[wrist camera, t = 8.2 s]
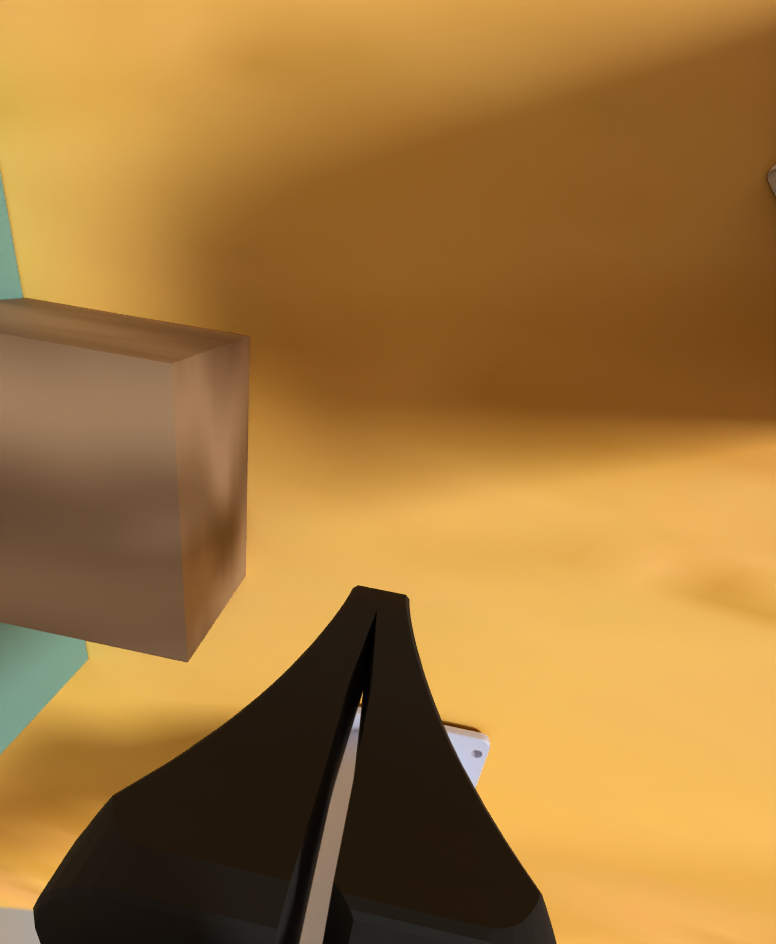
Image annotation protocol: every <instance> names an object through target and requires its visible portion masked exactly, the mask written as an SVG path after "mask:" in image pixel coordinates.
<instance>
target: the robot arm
mask: <svg viewBox="0 0 776 944" xmlns="http://www.w3.org/2000/svg"><path fill="white" fill-rule="evenodd" d="M362 693H363V697H362V706H361V707H358V706H359V703H360V700H361V696H362ZM489 749H490V740H489V738H488V736H486V735H485V734H483V733H480V732H475V731H471V730H466V729H461V728H456V727H452V726H447V725H443V722H442V720H441V718H440V715H439V713H438V710H437V708H436V705H435V703H434V700H433V697H432V695H431V692H430V689H429V686H428V683H427V680H426V677H425V674H424V671H423V668H422V664H421V661H420V657H419V653H418V650H417V646H416V642H415V638H414V633H413V628H412V623H411V617H410V607H409V598H408V597H407V596H406V595H404V594H399V593H394V592H389V591H384V590H379V589H374V588H369V587H364V586H356V587H354V588H353V589H352V591H351V593H350V595H349V596H348V598H347V600H346V601H345V603H344V604H343V606H342V607H341V608H340V610H339V611H338V613H337V614H336V615H335V617H334V618H333V619H332V621H331V622H330V623H329V624H328V626H327V627H326V628H325V629H324V630H323V632H322V633H321V634H320V635H319V636H318V638H317V639H316V640H315V641H314V642H313V643H312V645H311V646H310V647H309V648H308V649H307V650H306V651H305V652H304V653H303V654H302V655H301V656H300V657H299V658H298V660H297V661H296V662H295V663H294V664H293V665H292V666H291V667H290V668H289V669H288V670H287V671H286V672H285V673H284V674H283V675H282V676H281V677H280V678H278V679H277V680H276V681H275V682H274V683H273V684H272V685H271V686H270V687H269V688H267V689H266V690H265V691H264V692H263V693H262V694H261V695H260V696H258V697H257V698H256V699H255V700H254V701H252V702H251V703H250V704H249V705H247V706H246V707H245V708H244V709H243V710H241V711H240V712H239V713H238V714H236V715H235V716H234V717H233V718H231V719H230V720H229V721H227V722H226V723H225V724H223V725H222V726H221V727H219V728H218V729H217V730H215V731H214V732H212V733H211V734H209V735H208V736H206V737H205V738H204V739H202V740H201V741H199V742H198V743H196V744H195V745H194V746H192V747H191V748H189V749H188V750H186V751H185V752H183V753H182V754H181V755H179V756H177V757H176V758H174V759H173V760H171V761H170V762H168V763H166V764H165V765H163V766H161V767H160V768H158V769H156V770H155V771H153V772H151V773H150V774H148V775H146V776H145V777H143V778H141V779H140V780H138V781H136V782H135V783H133V784H131V785H130V786H128V787H126V788H125V789H123V790H121V791H119V792H118V793H116V794H114V795H113V796H112V797H111V798H110V799H109V801H108V802H107V803H106V804H105V805H104V806H103V808H102V809H101V810H100V811H99V812H98V814H97V815H96V816H95V817H94V819H93V820H92V821H91V822H90V824H89V825H88V826H87V828H86V829H85V830H84V831H83V833H82V834H81V835H80V836H79V837H78V839H77V840H76V841H75V843H74V844H73V846H72V847H71V849H70V850H69V852H68V853H67V855H66V856H65V858H64V859H63V861H62V862H61V864H60V865H59V867H58V868H57V870H56V872H55V873H54V875H53V876H52V878H51V879H50V881H49V882H48V884H47V885H46V887H45V889H44V890H43V892H42V893H41V895H40V896H39V898H38V900H37V902H36V904H35V906H34V907H33V911H34V921H35V929H36V932H37V935H38V937H39V940H40V943H41V944H557V943H556V940H555V936H554V932H553V928H552V925H551V921H550V918H549V915H548V912H547V908H546V905H545V902H544V899H543V896H542V894H541V892H540V891H539V889H538V888H537V886H536V885H535V884H534V882H533V881H532V879H531V878H530V876H529V875H528V873H527V872H526V870H525V869H524V868H523V866H522V865H521V863H520V862H519V860H518V859H517V857H516V855H515V854H514V852H513V851H512V849H511V848H510V846H509V845H508V843H507V842H506V840H505V839H504V837H503V835H502V834H501V832H500V830H499V829H498V827H497V825H496V824H495V822H494V821H493V819H492V817H491V816H490V814H489V812H488V811H487V809H486V807H485V806H484V804H483V802H482V800H481V798H480V796H479V795H478V793H477V791H476V789H475V788H476V785H477V782H478V779H479V777H480V774H481V771H482V768H483V766H484V763H485V760H486V757H487V755H488V752H489Z"/></svg>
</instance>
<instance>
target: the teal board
mask: <svg viewBox="0 0 776 944" xmlns="http://www.w3.org/2000/svg"><path fill="white" fill-rule="evenodd" d="M15 298H23V295H22V289H21V284H20V278H19V273H18V267H17V262H16V256H15V251H14V245H13V240H12V234H11V228H10V223H9V217H8V212H7V206H6V201H5V195H4V190H3V184H2V179H1V173H0V300H2V299H15ZM87 660H88V655H87V649H86V644H85V640H80V639H76V638H71V637H66V636H62V635H57V634H52V633H48V632H43V631H38V630H33V629H29V628H24V627H19V626H15V625H10V624H5V623H1V622H0V754H1V753H2V752H3V751H4V750H5V749H6V748H7V747H8V746H9V745H10V743H11V742H12V741H13V740H14V739H15V738H16V737H17V736H18V735H19V734H20V733H21V732H22V730H23V729H24V728H25V727H26V726H27V725H28V724H29V723H30V722H31V721H32V720H33V719H34V717H35V716H36V715H37V714H38V713H39V712H40V711H41V710H42V709H43V708H44V707H45V706H46V704H47V703H48V702H49V701H50V700H51V699H52V698H53V697H54V696H55V695H56V694H57V693H58V691H59V690H60V689H61V688H62V687H63V686H64V685H65V684H66V683H67V682H68V681H69V680H70V678H71V677H72V676H73V675H74V674H75V673H76V672H77V671H78V670H79V669H80V668H81V667H82V665H83V664H84V663H85V662H86V661H87Z"/></svg>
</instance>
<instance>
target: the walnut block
mask: <svg viewBox="0 0 776 944" xmlns="http://www.w3.org/2000/svg"><path fill="white" fill-rule="evenodd" d="M249 341H250V336H245V335H239V334H233V333H228V332H222V331H216V330H210V329H204V328H198V327H193V326H187V325H181V324H175V323H169V322H164V321H158V320H152V319H146V318H140V317H134V316H129V315H123V314H117V313H111V312H105V311H99V310H94V309H88V308H82V307H76V306H70V305H65V304H59V303H53V302H47V301H41V300H35V299H30V298H15V299H2V300H0V622H1V623H5V624H10V625H15V626H19V627H24V628H29V629H33V630H38V631H43V632H48V633H52V634H57V635H62V636H66V637H71V638H76V639H80V640H85V641H90V642H94V643H99V644H104V645H108V646H113V647H118V648H122V649H127V650H132V651H136V652H141V653H146V654H150V655H155V656H160V657H164V658H169V659H174V660H178V661H183V662H188V661H189V660H190V658H191V657H192V655H193V654H194V652H195V651H196V649H197V648H198V646H199V645H200V643H201V642H202V640H203V639H204V637H205V636H206V634H207V633H208V631H209V630H210V628H211V627H212V625H213V624H214V622H215V621H216V619H217V618H218V616H219V615H220V613H221V612H222V610H223V609H224V607H225V606H226V604H227V603H228V601H229V600H230V598H231V597H232V595H233V594H234V592H235V591H236V589H237V588H238V586H239V585H240V583H241V582H242V580H243V579H244V577H245V576H246V522H247V462H248V402H249Z"/></svg>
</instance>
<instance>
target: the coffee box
mask: <svg viewBox="0 0 776 944" xmlns="http://www.w3.org/2000/svg"><path fill="white" fill-rule="evenodd" d="M768 182H769V184H770V186H771V188H772V190H773V192H774V194H775V196H776V165H774V166H773V167H772V168H771V170H770V171H769V173H768Z"/></svg>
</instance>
